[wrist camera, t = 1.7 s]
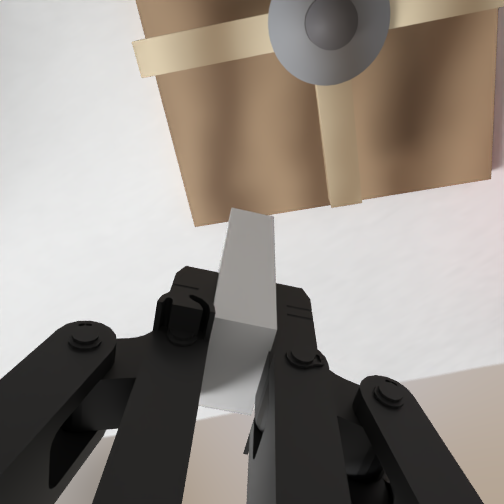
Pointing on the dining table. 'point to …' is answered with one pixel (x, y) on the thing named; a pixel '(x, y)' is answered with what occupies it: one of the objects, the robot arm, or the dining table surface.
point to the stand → (307, 120)
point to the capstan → (308, 59)
